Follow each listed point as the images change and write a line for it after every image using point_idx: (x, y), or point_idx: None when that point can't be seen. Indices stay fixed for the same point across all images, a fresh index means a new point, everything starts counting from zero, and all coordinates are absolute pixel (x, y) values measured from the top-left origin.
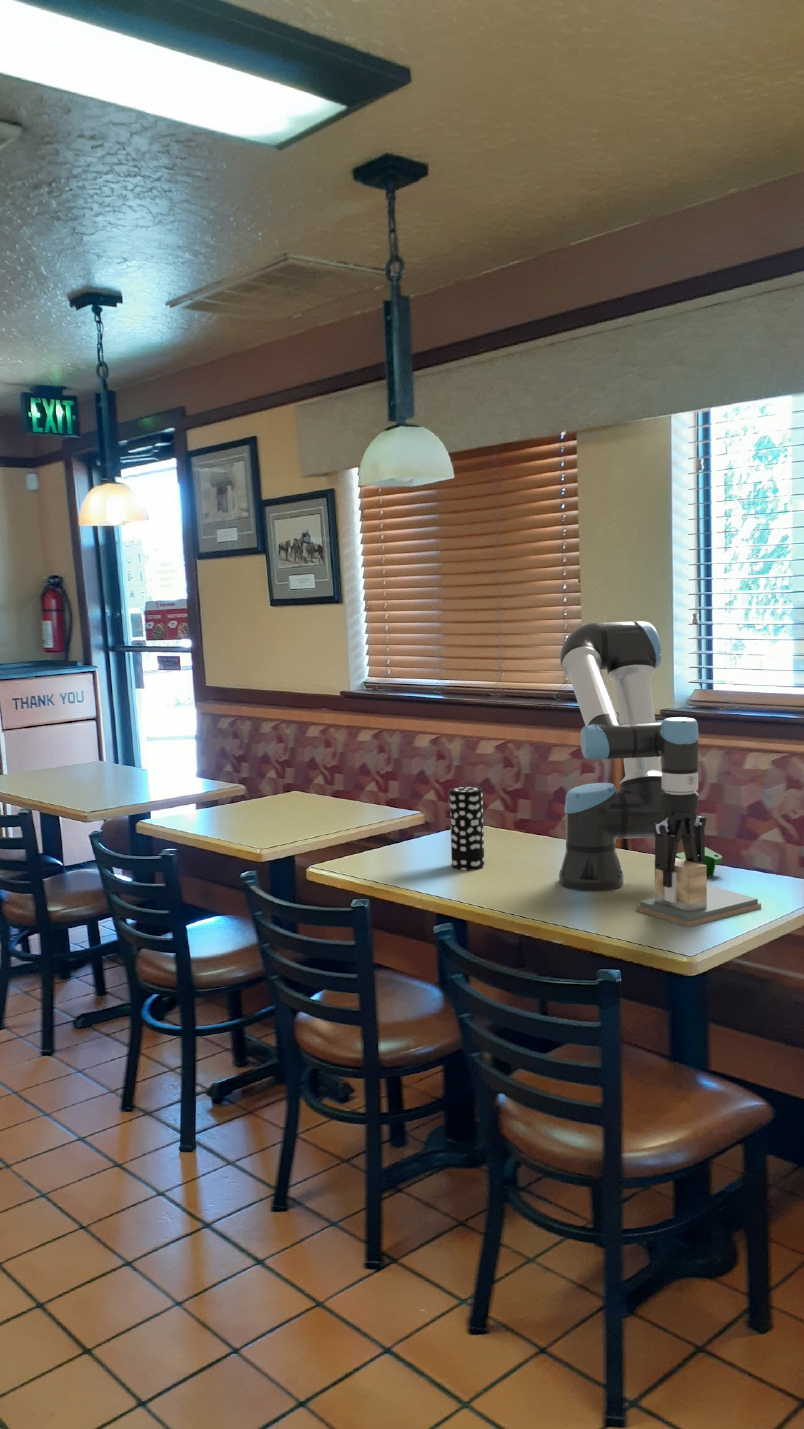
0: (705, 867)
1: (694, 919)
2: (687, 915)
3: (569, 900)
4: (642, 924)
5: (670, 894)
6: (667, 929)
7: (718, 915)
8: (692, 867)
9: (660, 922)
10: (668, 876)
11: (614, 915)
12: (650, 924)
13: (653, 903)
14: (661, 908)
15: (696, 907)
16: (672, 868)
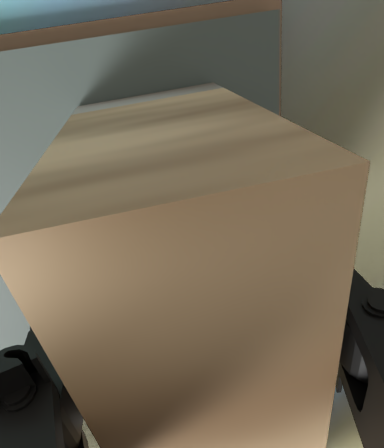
0: (15, 222)
1: (221, 17)
2: (266, 30)
3: (343, 391)
4: (381, 141)
5: None
6: (366, 24)
7: (37, 30)
8: (256, 230)
9: (312, 130)
10: (356, 277)
11: (364, 263)
12: (360, 126)
13: None
14: None
15: (162, 93)
16: (377, 319)
